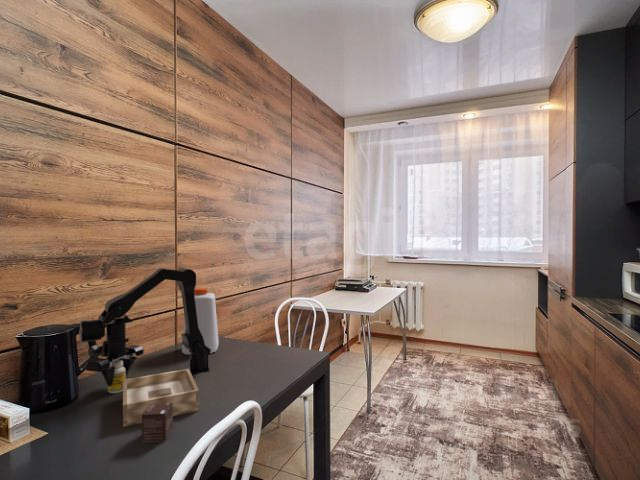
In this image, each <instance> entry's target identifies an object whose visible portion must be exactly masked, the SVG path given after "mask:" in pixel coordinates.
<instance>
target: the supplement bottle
mask: <svg viewBox="0 0 640 480" xmlns="http://www.w3.org/2000/svg"><path fill="white" fill-rule="evenodd" d="M112 366H113V367H115V371H114V376H113V382H112V385H111V386H108V385H107V392H108V393H109V394H118V393H121V392H123V380H125V379H127V377H126V370H125V367H124V366H123V361H122V360H116V361H114V362H112Z"/></svg>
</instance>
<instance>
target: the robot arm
mask: <svg viewBox="0 0 640 480" xmlns="http://www.w3.org/2000/svg"><path fill="white" fill-rule="evenodd" d="M166 280H167V281H175V282H176V284H177V287H178V289H179V291H180V294H181V301H182V308H183V318H184V317H185V324H186V331H185V334H183V333H181V335H180V336H181V339H182V342H181V345H182V344H183V345H184V346H185V348H187V349H188V350H189V352H190V353H192V354H190V355H189V356H190V357H188V369H189V370H190V372H191V374H196V373H202V372H208V371H210V368H209V356H210V355H211V353H210V352H211V349H209V348H208V347H207V346H206V345H205V342H204V339H203V336H202V334H201V332H200V330H199V327H198V320H197V312H196V304H195V296H194V290H195V288H196V287H197V274H196V271H194V270H193V269H189V268H184V267H183V268H179V269H169V268H168V269H167V268H163V267H160V268H157V269H156V271H154V272H153V273H152V274H150V275H149V276H147V277H146V278H145V279H143V280H142V281H140V282H139V283H138V284H137V285H135V286H133V288H131V289H130V290H129V291H126V292H124V293H122V294H119V295H117V296H114V297H113V298H110V299H109V300H107V302H106V303H105V304H104V309H103V311H102V312H101V313H100V315H99V316H98V318H97V319H91V320H81V321H80V325H79V331H78V336H79V338H78V339H79V342H80V344H82V343H88V342H94V341H99V340H102V338H104V336H106V340H103V342H102V345H100V346H98V345H97V344H95V345H92V346H89V347H88V356H89V357H94V355H95V358H94V359H91V360H90V359H89V360H87V362H86V363H85V371H86V372H87V371H88V372H95V373H100V374H101V375H102V376H103V378H104V380H105V383H106V385H107V387H108V386H111V385H112V382H113V376H114V371H115V367H113V366H112V362H114V361H116V360H122V361H123V366H124V367H125V370H126V378H127V377H128V374H129V372H130V371H131V369H132V367H133V364H134V363H135V361H136V360H137V359H138V357H140V356H141V355H144V348H143V346H142V345H136V344H131V345H128V346H127V343H129V341H130V339H129V338H127V337H126V336H127V331H126V329H127V328H126V327H127V326H126V325H127V323H133V320H132V319H131V318H130V317H129V315H127V313H128V312H129V311H130V310H131V309H132V308H133V306H134V305H135V304H136V302H137V301H138V300H140V299H141V298H143V297H144V296H145V295H147V294H148V293H149V292H150V291H152V290H153V289H155V287H157V286H158V285H160V284H162V282H164V281H166ZM100 356H101V358H100Z"/></svg>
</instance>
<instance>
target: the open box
mask: <svg viewBox="0 0 640 480" xmlns="http://www.w3.org/2000/svg"><path fill="white" fill-rule="evenodd" d="M192 374H193V373H192V372H191V371H190V369H189V368H184V369H180V370H173V371H167V372H166V371H165V372H161V373H156V374H155V373H154V374H149V375H143V376H142V375H141V376H138V377H132V378H126V379H125V380H123V391H122V417H123V418H122V425H123V427H122V428H126V427H129V426H134V425H138V424H139V425H140V424H142V413H143V412H144V411H145V410H146V408H147V407H148V406H149V405H150V404H152V403H173V417H175V416H180V415H185V414H188V413H189V414H190V413H193V412H199V411H200V389H199V387H198V385H197V383H196V380H195V379H194V377H193V375H192Z"/></svg>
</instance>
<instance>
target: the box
mask: <svg viewBox="0 0 640 480" xmlns="http://www.w3.org/2000/svg"><path fill="white" fill-rule="evenodd" d="M173 417H174V416H173V403H152V404H150V405H149V406H148V407H147V408H146V410H145V411H144V412H143V413H142V423H141V442H142V443H151V442H153V443H154V442H166V441H167V439H168V437H169V436H170V434H171V432H172V430H173V428H174V425H173V424H174V422H173V421H174V418H173Z"/></svg>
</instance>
